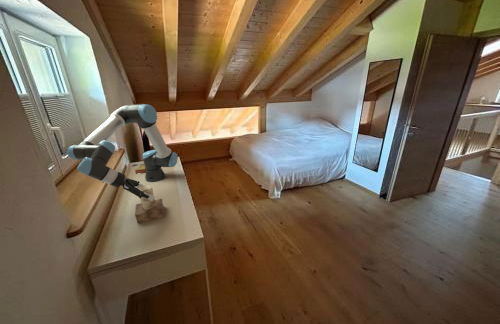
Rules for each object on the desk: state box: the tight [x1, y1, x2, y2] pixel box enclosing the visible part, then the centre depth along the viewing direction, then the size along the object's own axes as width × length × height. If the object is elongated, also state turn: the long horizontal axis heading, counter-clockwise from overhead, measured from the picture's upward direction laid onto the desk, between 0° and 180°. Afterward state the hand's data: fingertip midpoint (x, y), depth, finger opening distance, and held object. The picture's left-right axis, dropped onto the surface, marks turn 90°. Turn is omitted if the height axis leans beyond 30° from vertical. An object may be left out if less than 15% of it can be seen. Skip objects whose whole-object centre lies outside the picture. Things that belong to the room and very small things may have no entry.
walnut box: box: [134, 198, 165, 224], centre depth 124 cm, size 14×12×6 cm
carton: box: [134, 163, 146, 175], centre depth 192 cm, size 8×16×4 cm, turn 9°
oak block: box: [138, 184, 156, 210], centre depth 120 cm, size 6×6×12 cm
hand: (150, 194), depth 121 cm, fingers open, 13 cm apart
